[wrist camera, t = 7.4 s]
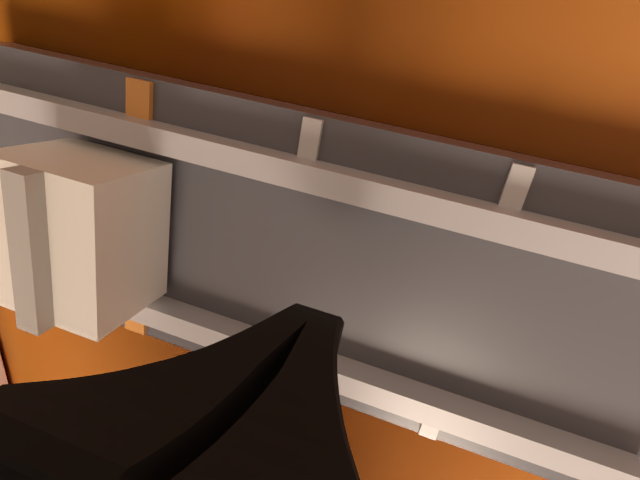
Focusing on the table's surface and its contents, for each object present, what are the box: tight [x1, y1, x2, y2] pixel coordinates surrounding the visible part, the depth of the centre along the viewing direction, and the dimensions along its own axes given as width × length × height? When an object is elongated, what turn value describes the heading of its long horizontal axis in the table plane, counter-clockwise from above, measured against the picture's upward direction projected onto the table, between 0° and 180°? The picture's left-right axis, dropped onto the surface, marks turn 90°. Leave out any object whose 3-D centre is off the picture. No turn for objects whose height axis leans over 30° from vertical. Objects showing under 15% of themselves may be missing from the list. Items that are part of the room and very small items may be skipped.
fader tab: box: [0, 137, 172, 342], centre depth 14 cm, size 5×4×4 cm
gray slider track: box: [0, 42, 640, 480], centre depth 15 cm, size 10×26×2 cm, turn 80°
